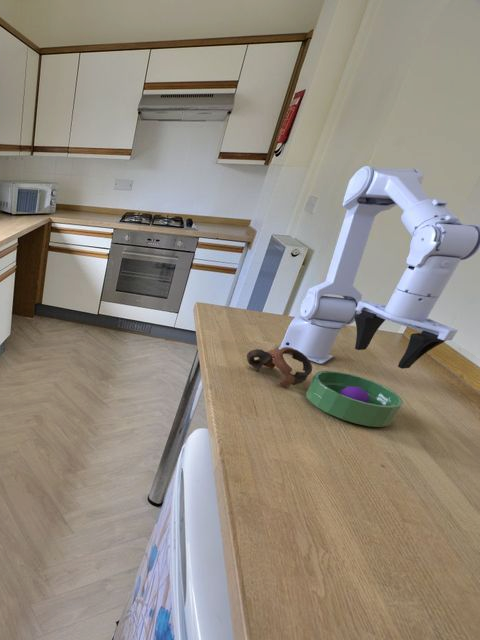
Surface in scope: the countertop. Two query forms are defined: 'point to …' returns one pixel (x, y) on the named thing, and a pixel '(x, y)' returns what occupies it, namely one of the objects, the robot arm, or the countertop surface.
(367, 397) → the ball
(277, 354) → the brown curved loop
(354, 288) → the robot arm
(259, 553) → the countertop surface
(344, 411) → the bowl
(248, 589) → the countertop surface
